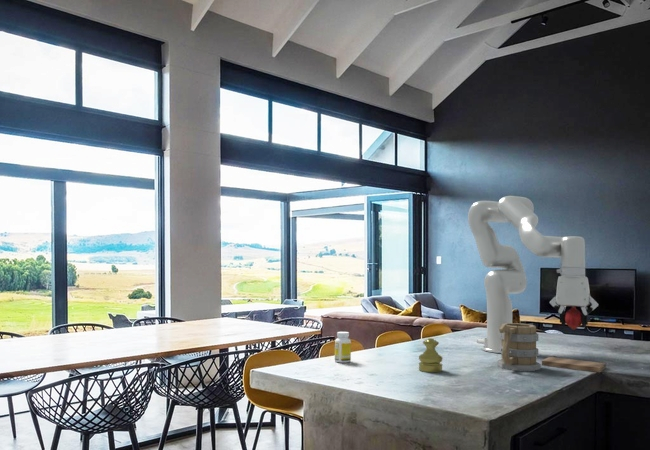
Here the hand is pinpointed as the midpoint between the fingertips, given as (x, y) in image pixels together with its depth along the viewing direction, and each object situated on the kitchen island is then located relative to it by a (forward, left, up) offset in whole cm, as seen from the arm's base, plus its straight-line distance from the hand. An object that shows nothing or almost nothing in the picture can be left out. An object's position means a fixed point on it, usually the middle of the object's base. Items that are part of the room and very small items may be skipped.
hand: (573, 325), depth 187 cm
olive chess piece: (-34, -39, -14) cm, 54 cm away
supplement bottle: (-63, -46, -14) cm, 79 cm away
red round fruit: (0, 0, -2) cm, 2 cm away
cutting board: (0, 0, -14) cm, 14 cm away
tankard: (-15, -18, -14) cm, 27 cm away
